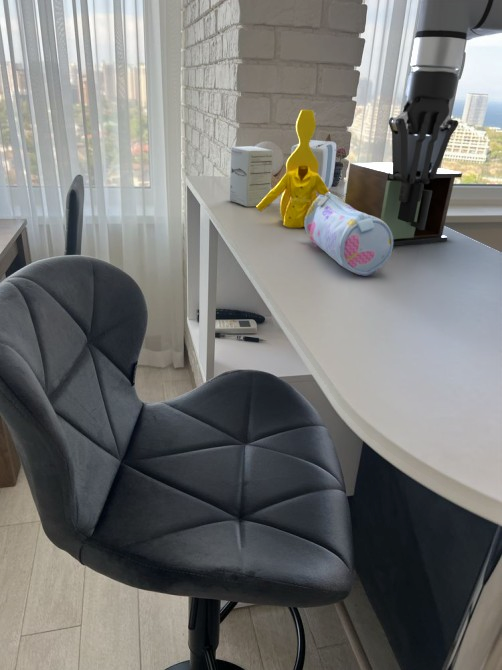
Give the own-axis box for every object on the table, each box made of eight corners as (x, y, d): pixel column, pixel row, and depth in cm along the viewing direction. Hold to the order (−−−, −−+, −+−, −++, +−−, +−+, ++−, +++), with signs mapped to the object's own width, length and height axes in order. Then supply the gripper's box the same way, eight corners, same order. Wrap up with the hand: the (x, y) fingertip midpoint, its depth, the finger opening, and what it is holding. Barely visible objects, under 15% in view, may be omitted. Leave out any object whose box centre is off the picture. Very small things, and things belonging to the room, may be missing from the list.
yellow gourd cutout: (318, 204, 125) (327, 117, 116) (286, 200, 127) (293, 114, 118) (332, 191, 143) (341, 114, 134) (304, 188, 145) (311, 112, 136)
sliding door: (424, 242, 94) (437, 183, 89) (390, 245, 91) (401, 184, 86) (410, 236, 97) (421, 179, 92) (377, 239, 94) (386, 180, 89)
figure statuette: (255, 226, 102) (261, 108, 93) (255, 217, 109) (261, 106, 100) (342, 231, 102) (358, 113, 93) (337, 222, 109) (351, 111, 100)
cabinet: (446, 241, 100) (462, 173, 94) (381, 246, 94) (393, 174, 88) (402, 224, 111) (413, 162, 105) (341, 228, 105) (349, 163, 99)
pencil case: (300, 241, 94) (305, 189, 90) (344, 241, 96) (351, 190, 92) (337, 280, 76) (346, 217, 72) (391, 279, 78) (402, 217, 73)
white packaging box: (228, 201, 123) (230, 146, 118) (252, 198, 127) (255, 145, 122) (246, 207, 118) (248, 150, 113) (270, 204, 122) (274, 149, 117)
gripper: (447, 73, 85) (419, 213, 95) (385, 68, 80) (363, 217, 90) (482, 73, 79) (448, 223, 89) (417, 68, 74) (389, 227, 84)
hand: (405, 220), depth 90 cm, fingers closed
